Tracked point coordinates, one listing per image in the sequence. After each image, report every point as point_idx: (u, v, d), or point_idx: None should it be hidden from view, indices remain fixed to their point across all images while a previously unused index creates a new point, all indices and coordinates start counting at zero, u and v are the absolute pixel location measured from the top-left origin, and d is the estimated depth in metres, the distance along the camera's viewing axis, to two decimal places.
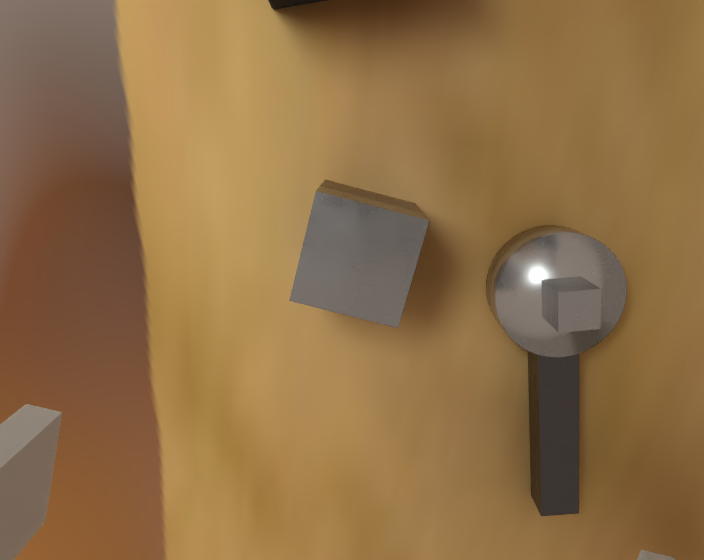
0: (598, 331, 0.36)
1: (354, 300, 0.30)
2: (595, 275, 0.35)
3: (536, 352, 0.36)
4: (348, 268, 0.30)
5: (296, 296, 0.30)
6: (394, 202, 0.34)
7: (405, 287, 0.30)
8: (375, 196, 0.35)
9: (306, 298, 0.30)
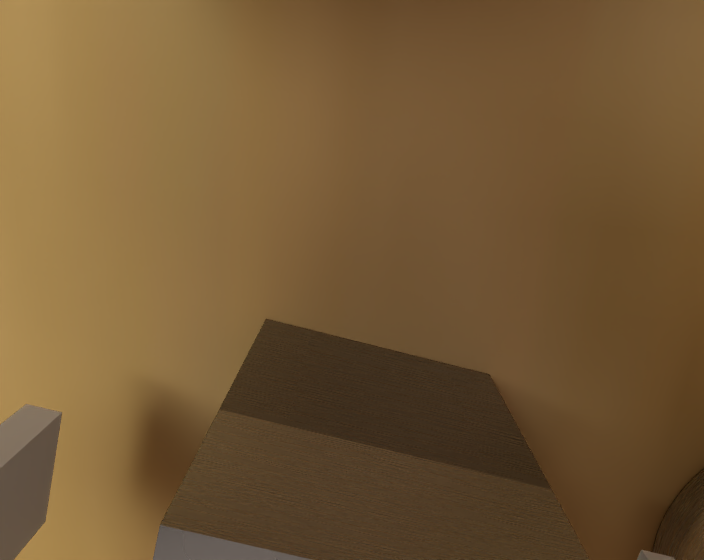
0: None
1: None
2: None
3: None
4: None
5: None
6: (450, 416, 0.12)
7: None
8: (394, 389, 0.12)
9: None
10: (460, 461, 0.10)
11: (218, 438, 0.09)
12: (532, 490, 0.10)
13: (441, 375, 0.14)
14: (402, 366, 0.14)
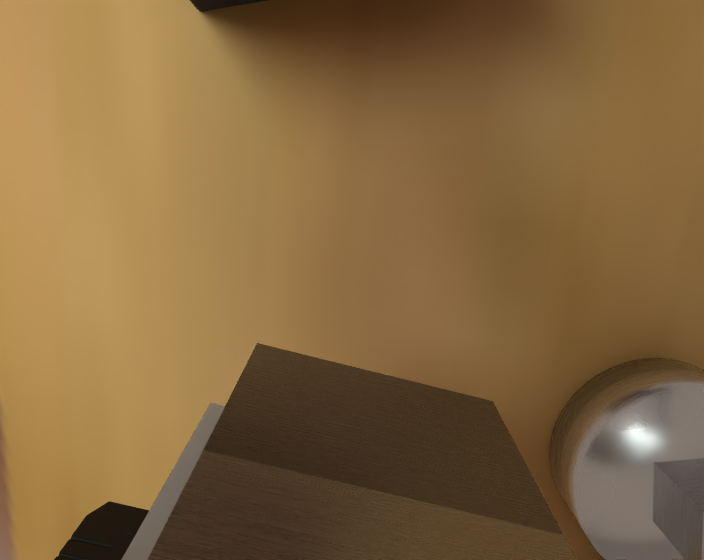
0: None
1: None
2: None
3: None
4: None
5: None
6: (452, 451, 0.11)
7: None
8: (393, 421, 0.12)
9: None
10: (464, 504, 0.09)
11: (200, 484, 0.08)
12: (542, 537, 0.09)
13: (442, 403, 0.13)
14: (401, 394, 0.13)
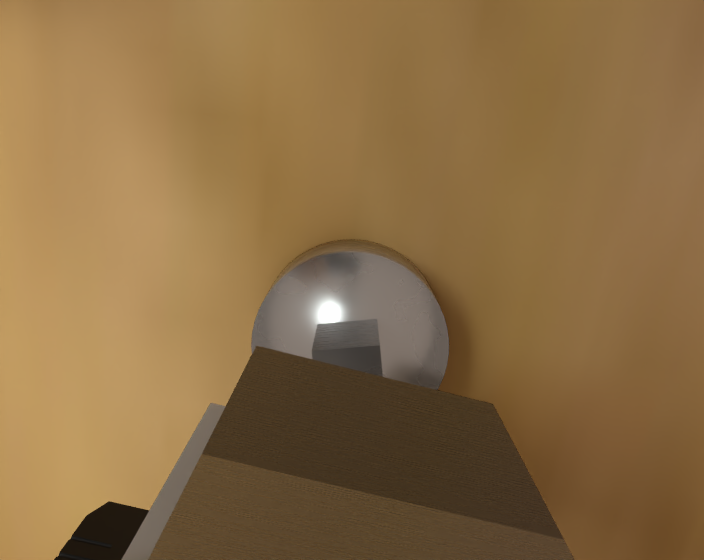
0: None
1: None
2: (398, 317, 0.23)
3: None
4: None
5: None
6: (452, 454, 0.11)
7: None
8: (392, 424, 0.12)
9: None
10: (464, 508, 0.09)
11: (199, 489, 0.08)
12: (543, 541, 0.09)
13: (442, 406, 0.13)
14: (400, 396, 0.13)
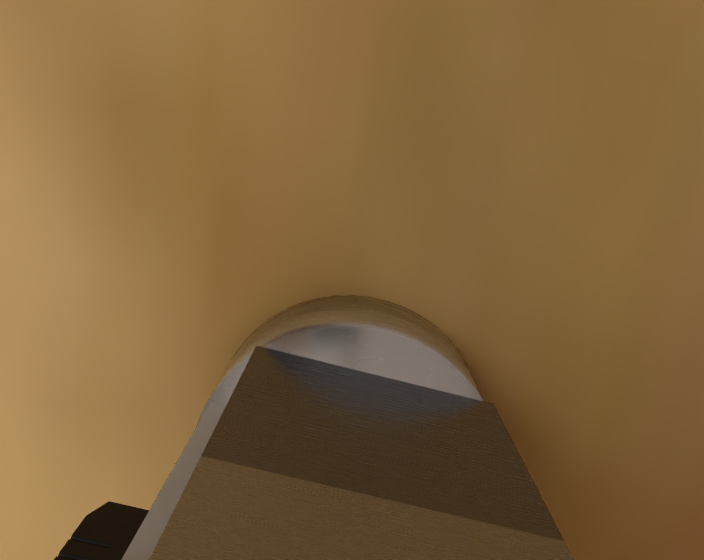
0: None
1: None
2: None
3: None
4: None
5: None
6: (452, 455, 0.11)
7: None
8: (393, 424, 0.12)
9: None
10: (464, 510, 0.09)
11: (198, 492, 0.08)
12: (543, 543, 0.09)
13: (442, 406, 0.13)
14: (401, 396, 0.13)
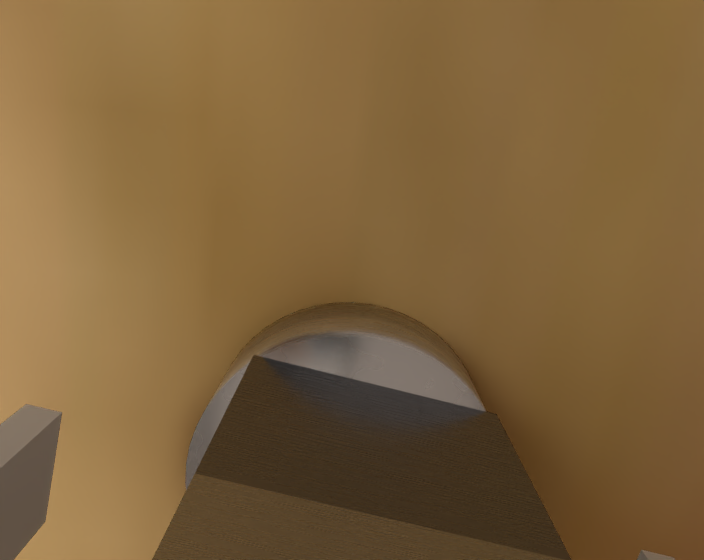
0: None
1: None
2: None
3: None
4: None
5: None
6: (455, 470, 0.11)
7: None
8: (394, 437, 0.11)
9: None
10: (468, 529, 0.09)
11: (191, 513, 0.08)
12: None
13: (444, 417, 0.13)
14: (402, 407, 0.13)
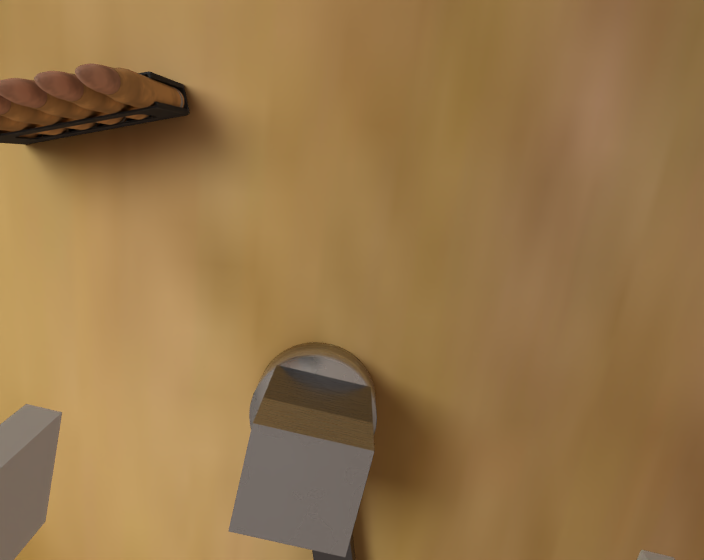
0: None
1: (297, 530, 0.28)
2: None
3: None
4: (289, 499, 0.28)
5: (235, 527, 0.28)
6: (345, 401, 0.32)
7: (351, 517, 0.28)
8: (326, 392, 0.33)
9: (246, 528, 0.28)
10: (343, 414, 0.31)
11: (264, 405, 0.29)
12: (365, 423, 0.30)
13: (348, 387, 0.34)
14: (332, 383, 0.34)
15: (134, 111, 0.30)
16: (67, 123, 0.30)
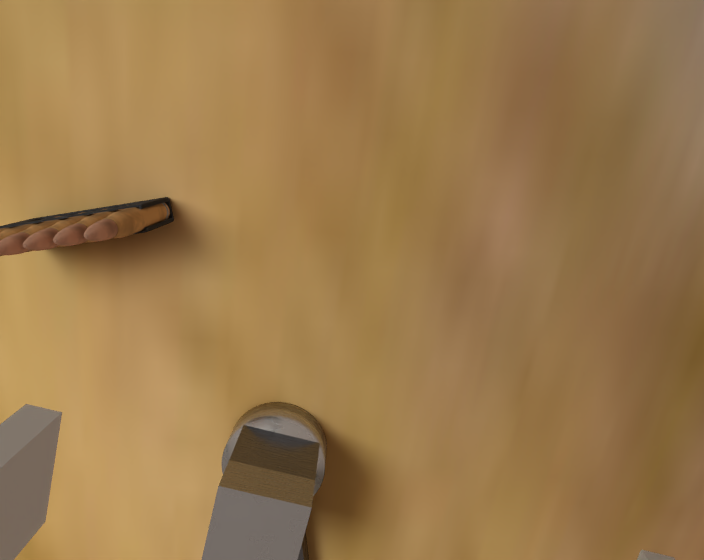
0: None
1: None
2: None
3: None
4: (247, 542, 0.37)
5: None
6: (295, 459, 0.41)
7: (294, 555, 0.37)
8: (281, 451, 0.41)
9: None
10: (292, 473, 0.39)
11: (229, 467, 0.38)
12: (309, 480, 0.39)
13: (300, 444, 0.43)
14: (287, 441, 0.43)
15: None
16: None
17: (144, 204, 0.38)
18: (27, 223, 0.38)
